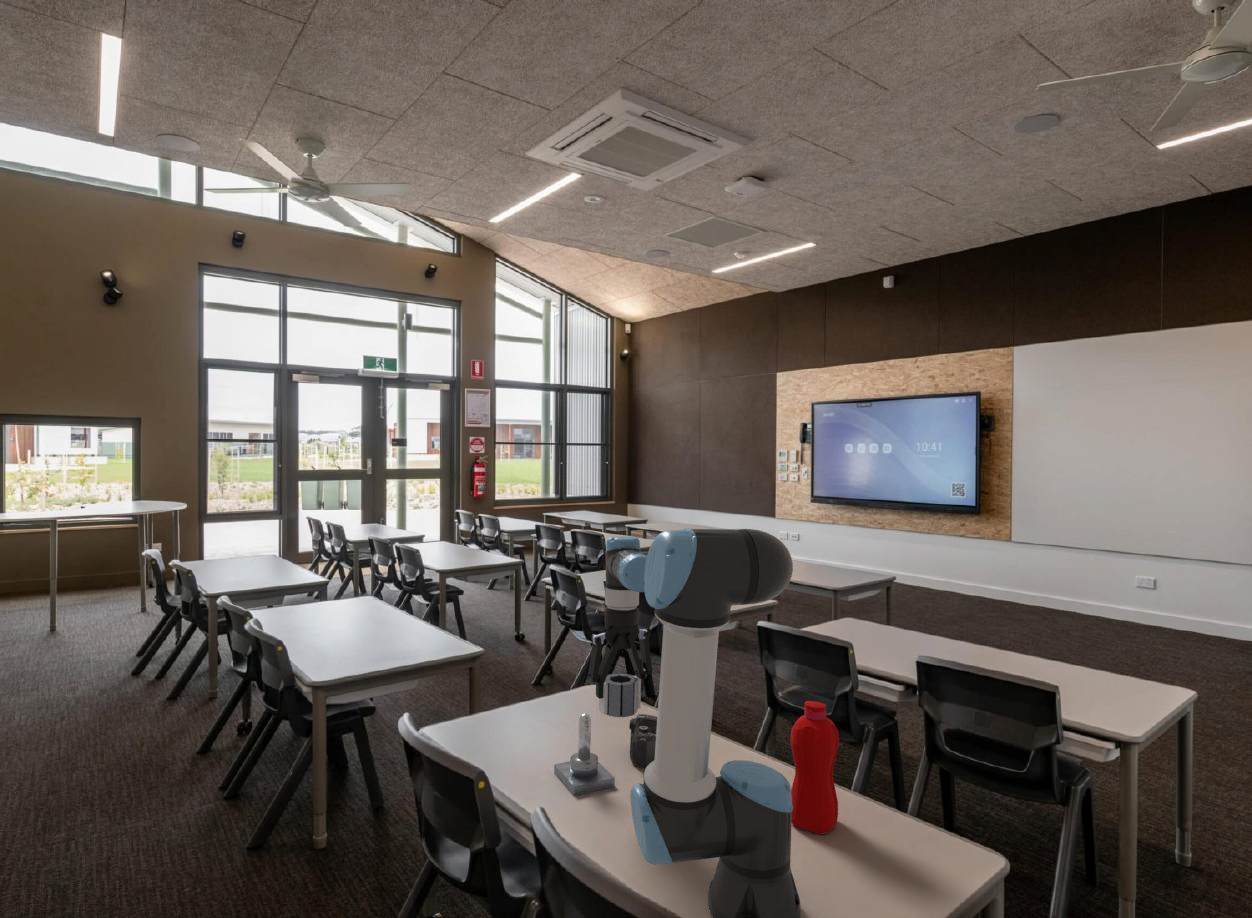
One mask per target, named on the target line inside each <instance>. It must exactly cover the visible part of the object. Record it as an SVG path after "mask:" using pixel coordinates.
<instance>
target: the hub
mask: <svg viewBox="0 0 1252 918" xmlns="http://www.w3.org/2000/svg"><path fill="white" fill-rule="evenodd" d="M634 676H635V675H633V674H627V673H614V674H613V673H612V674H607V677H606V680H605V683H607V684H608V702H607V714H605V715H606V716H608V717H613V718H628V717H633V716H635V715H636V714H637V712H638V710H639V709H638V678H636V677H634Z"/></svg>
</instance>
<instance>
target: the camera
mask: <svg viewBox="0 0 1252 918" xmlns="http://www.w3.org/2000/svg"><path fill="white" fill-rule="evenodd" d="M628 727H629V730H630V739H629V740H630V745H629V758H630V760H631V761H632V764H633V765H634V766H636V767H640V768H646V767H647V766H648V765H649V764H650V763H651V762H653V761H654V760H655V746H656V731H657V716H656V715H655V716H654V715H651V714H645V713H638V714H637V715H636V717H634V718H631V719H629V726H628Z"/></svg>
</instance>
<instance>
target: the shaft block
mask: <svg viewBox="0 0 1252 918" xmlns="http://www.w3.org/2000/svg"><path fill="white" fill-rule="evenodd" d="M591 724H592V718H591V716H590V714H588V713H587V712H586V713H585V712H583V713H582V714H580V716H579V718H578V739H577V740H578V745H577V746H578V748H577V749H578V750H577V752H576V753H573V754H571V756H570V760H569V761H563V762H560V763H555V764H553V768H554V769H553V774H555V776H556V777H557V778H558V780H560V781H561V783H562V784H563V785H564V786H565V787H566V788H567V789H568V790H569V792H570V793H571V794H572V795H573V796H575V797H576V796H579V795H582V794H587V793H588V794H589V793H592V792H595V791H600V790H605V789H609V788H613V787H615V786H616V785H615V783H616V778H615V776H614V775H613V774H612V773H610V771H609V770H607V769H606V768H605V767H604V766H603V765H602V764H601V763H600V762H599V757H598V755H597V754H595V753H593V752H591V743H592V742H591V740H592V739H591V738H592V737H591V733H592V725H591Z"/></svg>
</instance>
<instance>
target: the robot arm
mask: <svg viewBox="0 0 1252 918" xmlns="http://www.w3.org/2000/svg"><path fill="white" fill-rule="evenodd" d="M605 547H606V548H605V551H604V554H605V587H604V588H605V589H604V591H605V592H604V593H605V594H604V595H605V596H604V603H605V605H606V607H605V608H604V629H603V631H602V633H599V634H595V633H593V634H592V635H591V636H590V639H591V643H592V646H591V651H590V653H591V654H590V658H589V659H590V660H589V666H588V672H587V679H588V680H589V681H591V682H592V683H594V684H595V696H596V697H597V698H598V711H599V712H600V713H602V714H603V715H606V714H607V702H608V684H607V683H605V680H606V677H607V676H608V675H609V671H610V670H611V669H610V668H611V665H612V663H613V661H614V658H615V656H616V655H617V653H618V651H621V650H623V649H624V650H626V651H627V655H628V657H629V660H630V662H631V665H632V668H633V670H634V673H635V675H633V676H634V677H636V678H638V710H639V709H641V707H642V706H641V701H642V700H641V699H642V698H641V697H642V696H641V695H642V693H643V692H644V690H645V680H646V679H647V677H648V675H652V674H653V666H652V657H651V648H650V638H651V631H649V630H648V629H646V628H642V629H639V626H638V625H639V617H640V616H639V613H640V612H639V610H640V609H639V608H638V606H639V605H640V593H644V596H645V599H646V602H647V604H648V605H649V606H650V608H654V616H655V618H656V619H657V620H658V621H660V623H661V624H662V626H663V630H662V643H661V655H660V656H661V657H660V659H661V660H660V673H659V688H658V703H657V716H656V717H657V731H656V746H655V760H654V761H653V762H651V763H650V764H649V765H648V766H647V767H645V769H644V774H643V783H636V784H634V785H632V787H631V790H630V794H629V795H630V808H631V815H632V820H633V821H632V822H633V827H634V831H635V836H636V839H637V843H638V844H637V845H638V847H639V849H640V850H639V851H640V852H641V855H642V856H643V858H644V860H645V861H646V862H648V863H649V864H651V865H654V866H655V865H671V866H672V865H674V864H677V863H683V862H691V861H699V860H700V861H701V860H706V859H714V858H715V859H717V858H718V862H717V864H716V867H715V872H714V875H713V878H712V879H711V882H710V884H709V885H708V886H709V887H708V892H707V894H708V895H707V905H708V906H707V908H708V907H709V908H708V911H709V910H710V911H709V914H710V913H711V914H712V916H713V917H712V916H711V917H712V918H801V908H802V907H801V900H800V896H799V892H798V889H797V886H796V882H795V879H794V876H793V875H794V874H793V872H792V869H791V854H792V823H791V821H792V811H793V805H792V795H791V789H792V785H791V784H790V782H789V780H788V779H787V778H786V777H785V775H784V774H782V773H781V772H779V771H778V770H777V769H775V768H773V767H771V766H768V765H766V764H763V763H760V762H757V761H753V760H752V761H751V760H745V759H744V760H743V759H735V760H734V759H733V760H729V761H727V762H725V763H723V765H722V766H721V769H720V772H719V773H720V774H719V775H720V776H716V774H715V773H714V772H713V770H712V769H711V768H710V767H709V757H710V746H711V745H710V744H711V736H712V735H711V733H712V721H713V708H714V698H715V697H714V696H715V695H714V694H715V684H716V683H715V682H716V674H717V673H716V671H717V657H718V649H719V648H718V645H719V632H720V630H721V629H723V628H724V627H726V626H727V625H728V624H729V623H730V619H731V609H732V607H733V606H745V605H756V604H763V603H764V602H768V601H771V600H773V599H775V598H776V597H778V596H779V595H780V594H781V593H782V592H783V591H784V590H786V588H787V587H788V586H789V584H790V582H791V580H792V578H793V577H792V576H793V570H794V568H793V567H794V565H793V563H794V562H793V558H792V556H791V553H790V551H789V549H788V548H787V546H786V545H785V544H784V543H783V541H781V540H780V539H778V538H777V537H776V536H775V535H772V534H770V533H768V532H766V531H762V530H758V529H753V528H752V529H751V528H739V529H738V528H737V529H736V528H735V529H734V528H733V529H730V528H729V529H727V528H726V529H724V528H722V529H721V528H720V529H719V528H718V529H715V528H705V529H704V528H689V527H686V528H682V529H672V530H671V529H670V530H665V531H662V532H660V533H659V534H657V536H656V537H655V538H654V539H653V541H651V544H650V546H649V549H648V551H642V550H641V543H640V539H639V537H635V536H630V535H628V536H627V535H615V536H610V537H608V538H607V540H606V546H605ZM637 638H638V641H639V643H638V644H639V651H640V656H639V654H638V648H637V646H636V643H635V641H636V640H637ZM604 640H605V641H606V645H605V647H604V653H603V656H602V651H603V644H604ZM601 656H602V658H601ZM711 914H710V915H711Z"/></svg>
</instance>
